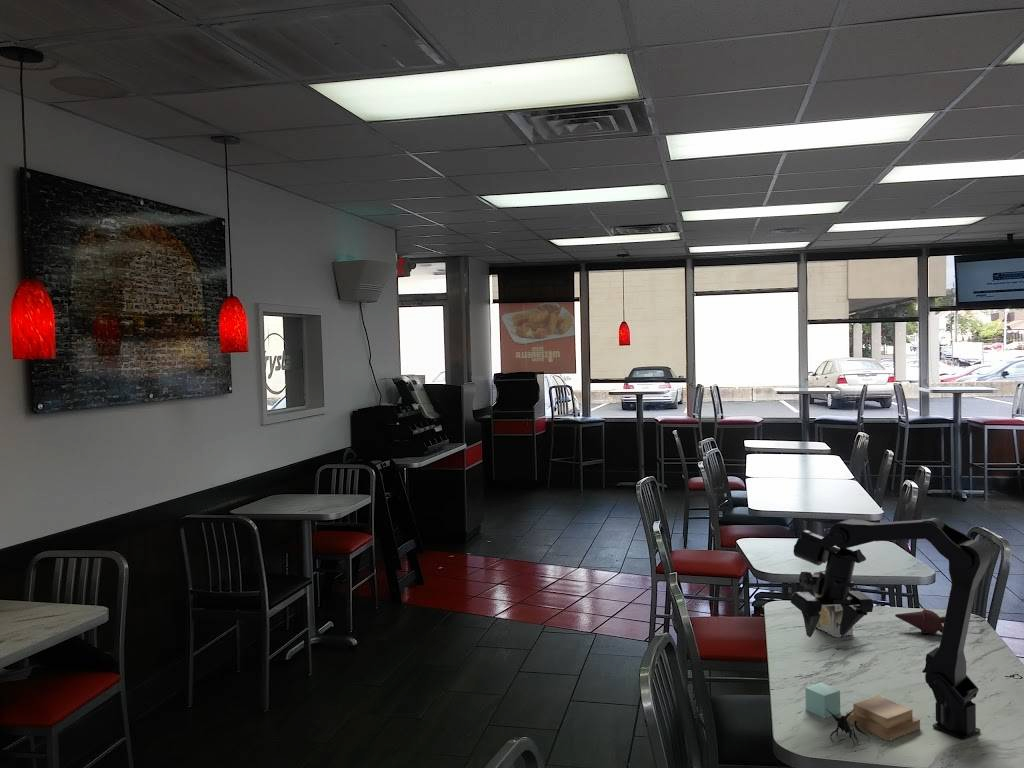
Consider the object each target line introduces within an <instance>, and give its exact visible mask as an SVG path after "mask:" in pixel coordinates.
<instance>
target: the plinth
mask: <svg viewBox="0 0 1024 768" xmlns="http://www.w3.org/2000/svg"><path fill="white" fill-rule="evenodd" d="M852 708H853V709H852V710H854V709H855V710H854V711H853V712H852V713H851V714H850V715H849V716H848V717H847V722H848V724H849V725H851V726H852V725H853V726H854V727H855V725H854V721H857V722H856V725H857V727H858V728H859V729H860V730H862V731H865V732H867V733H869V734H872V735H874V736H876V737H878V736H879V737H878V738H880V737H881V738H880V739H882V738H884V739H886V740H885V741H887V740H891V739H894V738H897V739H899V738H901V737H900V736H902V737H904V736H907V735H909V734H911V732H912V733H914V732H917V731H919V730H921V720H920V718H916V717H915V716H913V709H912V708H910V707H907V706H906V705H905V706H904V705H903V704H900V703H897V702H895V701H892V700H891V699H888V698H886V697H882V696H880V695H875V696H873V697H870V698H866V699H864V700H861V701H858V702H854V703H853V707H852ZM852 710H850V711H847V712H846V714H845V716H846V715H847V714H849V713H850V712H851V711H852ZM849 719H850V721H848V720H849ZM916 730H917V731H916ZM913 731H914V732H913ZM908 733H909V734H908ZM906 734H907V735H906ZM903 735H904V736H903ZM898 737H899V738H898ZM884 739H883V740H884ZM894 740H895V739H894Z"/></svg>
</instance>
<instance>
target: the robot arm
mask: <svg viewBox="0 0 1024 768" xmlns="http://www.w3.org/2000/svg"><path fill="white" fill-rule="evenodd" d="M906 540H907V541H909V540H911V541H912V540H926V541H928V542H929V543H930V544H931V545H932V546H933V547H934V548H935V550H937V552H938V553H939V554H940V555H941V556H942V557H944V558H945V559H946V560H948V573H949V577H950V581H951V587H950V592H949V596H948V600H947V601H948V602H947V606H946V610H945V611H946V612H945V616H944V617H945V621H944V623H943V631H942V633H941V637H940V642H939V646H937V647H934V649H932V650H931V651H929V652H928V653H926V655H925V665H924V669H922V674H923V673H924V680H925V683H926V684H927V685H928V687H929V689H931V691H932V693H933V696H934V699H935V723H932V728H935V729H937V730H939V731H942V732H944V733H945V734H947V735H948V734H949V735H951V736H953V737H956V738H958V739H961V740H965V739H967V738H969V737H972V736H974V735H977V734H979V733H981V728H978V727H977V726H976V725H977V723H976V722H977V720H976V718H977V715H976V713H977V710H976V709H977V704H976V703H975V702H973V701H972V700H973V699H975V698H976V697H977V695H978V693H979V690H980V689H979V687H978V686H977V685H976V683H974V682H973V680H972V679H971V678H970V677H969V676H968V675H967V660H966V656H965V653H964V651H965V645H966V641H967V636H968V630H969V625H970V621H971V620H970V619H971V616H972V611H973V604H974V602H975V596H976V591H977V588H978V585H979V583H980V582H981V580H982V579H983V576H984V575H985V573H986V571H987V569H988V566H989V564H990V563H991V559H992V552H991V550H989V548H988V546H987V545H986V544H984V542H981V541H979V540H975V539H972V538H971V537H970V536H968V535H967V534H965V533H964V532H963V531H962V532H961V531H960V530H958V529H956V528H954V527H951V526H950V525H949V524H947V523H945V522H944V521H943V520H942V519H940V518H938V517H931V518H929V519H915V520H900V521H899V520H898V521H887V522H872V521H867V520H863V519H856V518H855V519H853V518H850V519H849V518H848V519H845V520H842V521H840V522H836V523H834V524H833V525H831V527H830V530H829V533H828V534H827V535H824V536H821V535H819V534H817V533H814V532H812V531H810V530H807V529H805V530H802V531H801V534H800V536H798V539H797V540H796V542H795V544H794V545H793V555H794V557H796V558H799V559H800V560H803V561H806V562H808V563H811V564H814V565H816V566H820V565H822V564H826V565H825V569H824V571H825V572H821V573H820V574H819V575H814V574H813V573H812V572H810V571H800V572H799V573H800V575H799V578H798V582H799V585H800V586H803V587H804V589H805V590H809V589H810V590H811V589H812V590H813V593H814V592H815V593H816V594H819V595H820V597H814V594H812V593H810V591H795V592H793V593H792V595H791V599H790V603H791V604H792V605H794V606H795V607H796V608H797V609H798V610H800V611H801V614H802V618H803V621H804V622H803V623H804V627H805V632H806V633H805V635H806V636H807V637H808V638H811V637H812V636H813V634H814V632H815V631H816V626H817V623H818V621H819V619H820V616H821V615H820V614H819V612H820V611H821V608H822V606H841V605H842V608H843V614H842V620H841V625H840V635H842V636H844V635H845V634H846V633H847V632H848V631H849V630H850V629H851V628H852V627H853V628H854V626H855V625H856V624H857V623H858V622H859V621H860V620H861V619H862V618H863V617H864V616H867V615H868V613H872V612H873V609H874V601H873V599H872V598H870V597H869V596H868V595H866V594H865V593H864V592H861V591H860V590H852V591H849V588H850V587H852V588H854V587H855V585H856V583H855V582H854V581H853V574H854V573H853V572H854V569H855V564H860V563H863V562H865V561H866V560H867V557H865V555H864V554H863V553H862V551H861V549H856V550H852V549H850V548H852V547H857V546H861V545H865V544H868V543H872V542H886V541H888V542H889V541H906ZM851 579H852V581H851ZM814 589H815V590H814ZM844 637H845V636H844Z"/></svg>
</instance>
